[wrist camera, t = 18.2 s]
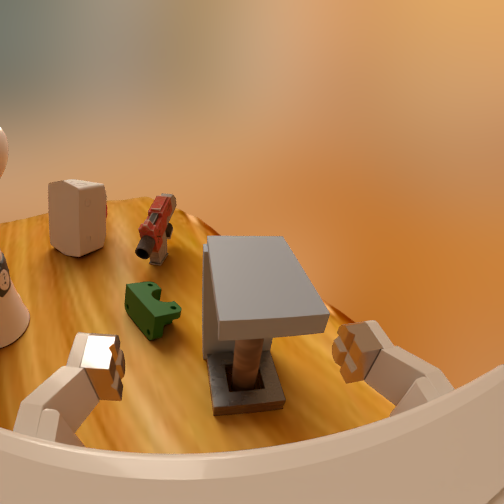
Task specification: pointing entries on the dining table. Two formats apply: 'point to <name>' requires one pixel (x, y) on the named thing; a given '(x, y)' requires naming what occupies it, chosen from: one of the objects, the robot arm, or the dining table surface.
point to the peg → (246, 364)
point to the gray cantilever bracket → (255, 293)
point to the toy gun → (156, 230)
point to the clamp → (149, 308)
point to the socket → (243, 400)
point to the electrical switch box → (77, 216)
